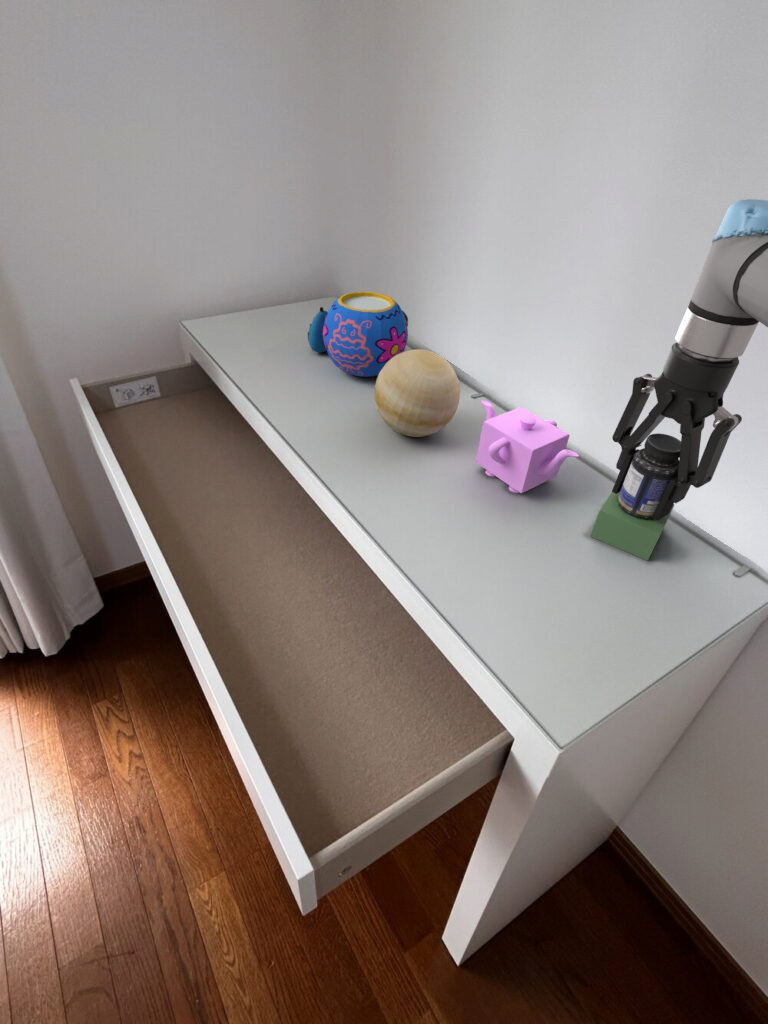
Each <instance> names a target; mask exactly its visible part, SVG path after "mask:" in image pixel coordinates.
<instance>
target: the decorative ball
mask: <svg viewBox="0 0 768 1024" xmlns="http://www.w3.org/2000/svg"><path fill="white" fill-rule="evenodd" d="M460 398H461V386H460V380H459V378H458V376H457V372H456V371H455V369H454V367H453V366H452V365H451V364H450V362H448V361H447V359H445V357H443V356H442V355H440V354H438V353H436V352H434V351H431V350H428V349H421V348H420V349H419V348H418V349H409V350H404V352H402V353H400V354H398V355H396V356H394V357H393V358H392V359H391V360H389V361H388V362H387V363H386V364H385V366H384V367H383V368H382V370H381V371H380V373H379V375H377V377H376V380H375V385H374V403H375V407H376V410H377V412H378V414H379V416H380V417H381V419H382V421H383V422H384V423H385V424H386V425H387V426H388V427H389V428H391V429H392V430H393V431H395V432H396V433H399V434H401V435H404V436H408V437H411V438H412V437H413V438H421V437H422V438H423V437H427V436H430V435H434V434H435V433H437V432H439V431H441V430H442V429H443V428H444V427H446V426H447V424H449V422H451V421H452V420H453V418H454V416H455V414H456V412H457V410H458V407H459V405H460Z"/></svg>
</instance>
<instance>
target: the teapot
mask: <svg viewBox="0 0 768 1024" xmlns="http://www.w3.org/2000/svg"><path fill="white" fill-rule="evenodd" d="M480 402H481V404H482V405H483V407H484V409H485V414H486V418H485V419H486V420H485V419H484V421H483V422H482V427H481V431H480V437H479V442H478V447H477V452H476V458H475V463H476V464H478V465H479V466H480V467H482V468H483V469H485V475H487V476H489V477H494V478H495V477H496V478H498V479H499V480H501V481H502V482H504V483H505V484H507V485H508V490H509V491H510V492H511V493H515V494H519V493H520V494H523V493H525V492H528V491H530V490H531V489H533V488H535V487H537V486H540V485H541V484H543V483H546V482H548V481H550V480H552V479H554V478H556V477H558V474H559V472H560V468H561V466H562V465H563V463H564V462H565V461H566V459H567V458H570V457H571V458H572V457H576V458H577V457H579V456H580V455H579V453H577V452H576V451H573V450H571V449H566V448H567V445H568V443H569V439H570V434H569V433H568V432H566V431H564V430H563V429H561V428H559V427H558V423H557V422H556V421H555V420H554V419H553V420H552V419H546V420H545V419H544V418H542V417H540V416H538V415H536V414H535V413H532V412H531V411H529V410H528V409H525V408H523V407H521V406H519V407H517V408H514V409H511V410H509V411H506V412H504V413H500V414H498V415H497V414H496V411H495V410H496V409H495V408H494V405H492V403H490V402H489V401H487V400H486V399H480Z"/></svg>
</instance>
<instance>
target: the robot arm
mask: <svg viewBox="0 0 768 1024" xmlns="http://www.w3.org/2000/svg"><path fill="white" fill-rule="evenodd" d="M759 323H760V324H762V325H763V326H765V327H766V328H768V200H766V199H752V198H750V199H741V200H738V201H736V202H734V203H732V204H731V205H730V206H729V207H728V209H727V210H726V212H725V215H724V217H723V219H722V222H721V223H720V226H719V227H718V229H717V232H716V235H715V236H713V238H712V240H711V245H710V247H709V250H708V253H707V256H706V258H705V260H704V263H703V266H702V268H701V272H700V274H699V277H698V279H697V281H696V284H695V287H694V290H693V292H692V295H691V297H690V301H689V304H688V306H687V307H686V310H685V313H684V315H683V318H682V319H681V322H680V324H679V327H678V329H677V332H676V334H675V336H674V340H675V343H673V344H672V345H671V347H670V350H669V352H668V355H667V357H666V360H665V363H664V365H663V368H662V373H661V374H660V375H659V376H657V377H655V376H653V375H652V374H651V373H646V374H643V375H639V376H637V377H635V378H634V379H633V381H632V391H631V395H630V398H629V399H628V401H627V404H626V406H625V408H624V411H623V413H622V415H621V416H620V419H619V421H618V424H617V425H616V427H615V430H614V432H613V434H612V437H611V438H612V440H613V442H614V443H618V444H619V445H620V448H621V451H620V454H619V456H618V459H617V462H616V466H615V468H616V469H617V470H619V472H618V475H617V477H616V479H615V482H614V485H613V487H612V490H611V492H613V493H615V494H617V493H619V492H620V491H621V488H622V486H623V483H624V481H625V478H626V475H627V473H628V470H629V468H630V465H631V463H632V460H633V458H634V455H635V454H636V453H637V452H638V451H639V450H640V449H639V447H641V446H642V443H643V442H645V441H646V440H647V438H648V436H649V435H651V434H652V433H653V431H654V430H655V429H656V428H657V427H658V426H659V425H660V423H662V422H663V420H664V419H665V418H667V419H672V420H674V421H675V423H677V424H679V426H680V427H679V433H680V435H681V437H680V438H681V439H680V441H681V448H680V457H679V458H678V459H679V469H678V476H677V477H675V478H673V479H671V480H670V482H669V484H668V486H667V488H666V490H665V493H664V495H663V497H662V499H661V501H660V503H659V505H658V508H657V510H656V512H655V514H654V516H653V518H654V519H656V520H657V521H658V520H659V519H661V518H663V517H664V516H666V515H668V514H669V512H670V510H671V508H672V506H673V504H674V505H675V504H678V503H679V502H682V501H683V500H684V499H686V496H687V494H688V491H689V490H690V488H691V486H693V487H694V488H696V489H698V488H701V487H704V486H705V485H707V484H708V483H710V482H711V481H712V479H713V477H714V475H715V472H716V470H717V467H718V465H719V462H720V460H721V457H722V456H723V452H724V450H725V448H726V445H727V443H728V440H729V438H730V435H731V433H732V432H733V431H734V430H735V429H736V428H737V427H738V425H740V424H741V423H742V422H743V421H742V420H743V418H742V417H743V416H741V415H740V414H739V413H735V414H732V413H731V412H730V411H728V410H727V409H726V408H725V407H723V406H724V394H725V393H726V390H727V388H729V387H728V386H729V384H730V383H731V381H732V378H733V376H734V375H735V372H736V370H737V368H738V366H739V365H740V359H739V358H740V357H741V356H743V355H744V353H745V351H746V349H747V347H748V345H749V343H750V341H751V339H752V337H753V335H754V334H755V331H756V329H757V327H758V325H759ZM654 391H655V396H656V401H657V403H656V404H655V405H654V406H653V407H652V409H651V410H650V411H649V412H648V415H647V416H646V417H645V418H644V419H643V420H642V422H641V423H640V424H639V425H638V426H637V427H636V424H637V423H638V421H639V419H640V416H641V414H642V412H643V410H644V408H645V407H646V404H647V402H648V400H649V398H650V396H651V393H652V392H654ZM712 415H713V416H714V421H713V423H712V427H713V428H714V429H713V430H712V432H711V433H710V435H709V437H708V440H707V443H706V445H705V448H704V451H703V453H702V456H701V458H700V449H701V439H702V431H703V430H704V428H705V424H706V423H705V422H706V418H709V417H710V416H712ZM635 427H636V429H635V430H634V428H635ZM699 459H700V461H699Z"/></svg>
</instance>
